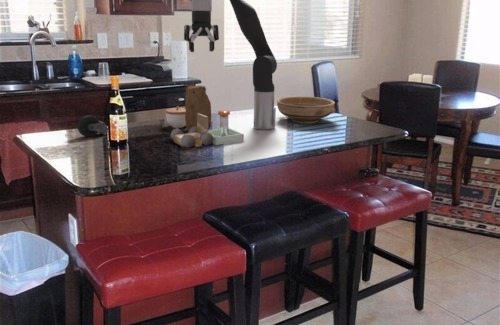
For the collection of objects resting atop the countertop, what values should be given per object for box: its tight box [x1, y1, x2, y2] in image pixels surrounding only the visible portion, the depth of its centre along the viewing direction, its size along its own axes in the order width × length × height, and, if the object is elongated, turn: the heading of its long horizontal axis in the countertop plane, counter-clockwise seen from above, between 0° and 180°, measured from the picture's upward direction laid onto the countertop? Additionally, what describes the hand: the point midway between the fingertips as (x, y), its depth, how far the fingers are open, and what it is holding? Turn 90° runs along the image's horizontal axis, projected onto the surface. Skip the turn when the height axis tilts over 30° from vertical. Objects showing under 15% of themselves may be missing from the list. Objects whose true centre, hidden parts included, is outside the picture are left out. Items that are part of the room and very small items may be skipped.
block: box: [184, 85, 212, 131], centre depth 227 cm, size 11×8×20 cm
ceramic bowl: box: [276, 95, 336, 124], centre depth 252 cm, size 37×29×10 cm
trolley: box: [170, 113, 213, 148], centre depth 206 cm, size 13×14×11 cm
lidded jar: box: [165, 105, 186, 129], centre depth 236 cm, size 11×11×9 cm
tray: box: [208, 127, 245, 146], centre depth 213 cm, size 13×13×3 cm
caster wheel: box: [77, 114, 109, 138], centre depth 216 cm, size 6×10×15 cm
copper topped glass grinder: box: [217, 110, 231, 137], centre depth 213 cm, size 5×5×11 cm
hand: (201, 51), depth 205 cm, fingers open, 8 cm apart
